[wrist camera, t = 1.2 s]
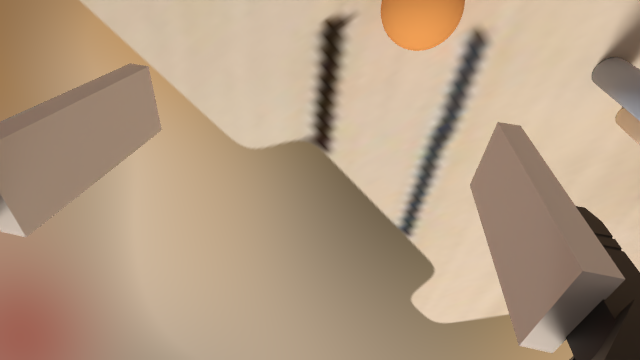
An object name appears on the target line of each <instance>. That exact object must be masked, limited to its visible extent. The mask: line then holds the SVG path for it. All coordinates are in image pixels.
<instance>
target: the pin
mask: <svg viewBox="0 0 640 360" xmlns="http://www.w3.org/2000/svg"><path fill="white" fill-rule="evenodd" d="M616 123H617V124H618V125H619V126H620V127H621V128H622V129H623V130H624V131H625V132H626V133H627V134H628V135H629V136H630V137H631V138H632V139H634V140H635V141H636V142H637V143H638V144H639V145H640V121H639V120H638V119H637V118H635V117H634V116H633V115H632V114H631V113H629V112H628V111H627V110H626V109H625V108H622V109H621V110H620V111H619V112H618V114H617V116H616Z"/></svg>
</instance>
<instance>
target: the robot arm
mask: <svg viewBox="0 0 640 360" xmlns="http://www.w3.org/2000/svg"><path fill="white" fill-rule="evenodd" d="M160 131H161V125H160V120H159V115H158V111H157V106H156V101H155V96H154V91H153V86H152V81H151V76H150V72H149V67H148V66H142V65H136V64H128V65H126V66H124V67H122V68H119V69H117V70H115V71H112V72H110V73H108V74H106V75H104V76H101V77H99V78H97V79H95V80H92V81H90V82H88V83H86V84H83V85H81V86H79V87H77V88H74V89H72V90H70V91H68V92H66V93H63V94H61V95H59V96H57V97H54V98H52V99H50V100H48V101H45V102H43V103H41V104H39V105H37V106H34V107H32V108H30V109H28V110H25V111H23V112H21V113H19V114H16V115H15V116H12V117H10V118H7V119H5V120H3V121H1V122H0V230H1V231H2V232H5V233H9V234H14V235H19V236H23V237H27V236H28V235H30V234H31V233H32V232H33V231H35V230H36V229H37V228H38V227H40V226H41V225H42V224H44V223H45V222H46V221H47V220H48V219H50V218H51V217H52V216H54V215H55V214H56V213H57V212H59V211H60V210H61V209H62V208H64V207H65V206H66V205H67V204H69V203H70V202H71V201H73V200H74V199H75V198H76V197H78V196H79V195H80V194H81V193H83V192H84V191H85V190H86V189H88V188H89V187H90V186H92V185H93V184H94V183H95V182H97V181H98V180H99V179H100V178H102V177H103V176H104V175H105V174H107V173H108V172H109V171H111V170H112V169H113V168H114V167H116V166H117V165H118V164H119V163H121V162H122V161H123V160H124V159H126V158H127V157H128V156H130V155H131V154H132V153H133V152H135V151H136V150H137V149H138V148H140V147H141V146H142V145H143V144H145V143H146V142H147V141H148V140H150V139H151V138H152V137H154V136H155V135H156V134H157V133H159V132H160ZM470 187H471V190H472V193H473V197H474V200H475V203H476V206H477V210H478V213H479V216H480V220H481V223H482V226H483V229H484V233H485V236H486V239H487V242H488V246H489V249H490V252H491V255H492V259H493V262H494V265H495V269H496V272H497V275H498V278H499V282H500V285H501V288H502V291H503V295H504V298H505V301H506V304H507V308H508V311H509V314H510V318H511V321H512V324H513V327H514V331H515V334H516V337H517V340H518V343H519V346H523V347H528V348H532V349H537V350H541V351H546V352H550V353H553V352H554V351H555V350H556V349H557V348H558V347H559V346H560V345H561V344H562V343H563V342H564V341H565V340H566V339H567V341H568V344H569V346H570V348H571V350H572V353H573V355H574V356H573V357H572V358H571V359H570V360H640V272H639V271H638V270H637V268H636V267H635V266H634V264H633V263H632V262H631V260H630V259H629V258H628V256H627V255H626V253H625V252H623V251H621V249H622V248H621V247H620V245H619V244H618V243H617V241H616V240H615V239H612V237H613V236H612V235H611V233H610V232H609V231H608V229H607V228H606V227H605V225H604V224H603V222H602V221H600V220H599V219H598V218H597V217H596V216H594V215H593V214H592V213H591V212H589V211H588V210H587V209H586V208H583V207H578V206H575V205H574V203H573V202H572V200H571V199H570V197H569V196H568V194H567V193H566V192H565V190H564V189H563V187H562V186H561V184H560V183H559V181H558V180H557V178H556V177H555V175H554V174H553V173H552V171H551V170H550V168H549V167H548V165H547V164H546V162H545V161H544V159H543V158H542V156H541V155H540V154H539V152H538V151H537V149H536V148H535V146H534V145H533V143H532V142H531V140H530V139H529V137H528V136H527V135H526V133H525V132H524V130H523V129H522V127H521V126H518V125H512V124H506V123H500V122H498V123H497V125H496V127H495V130H494V132H493V134H492V136H491V139H490V141H489V143H488V145H487V148H486V150H485V152H484V154H483V157H482V159H481V161H480V164H479V166H478V168H477V170H476V173H475V175H474V177H473V179H472V182H471V184H470Z"/></svg>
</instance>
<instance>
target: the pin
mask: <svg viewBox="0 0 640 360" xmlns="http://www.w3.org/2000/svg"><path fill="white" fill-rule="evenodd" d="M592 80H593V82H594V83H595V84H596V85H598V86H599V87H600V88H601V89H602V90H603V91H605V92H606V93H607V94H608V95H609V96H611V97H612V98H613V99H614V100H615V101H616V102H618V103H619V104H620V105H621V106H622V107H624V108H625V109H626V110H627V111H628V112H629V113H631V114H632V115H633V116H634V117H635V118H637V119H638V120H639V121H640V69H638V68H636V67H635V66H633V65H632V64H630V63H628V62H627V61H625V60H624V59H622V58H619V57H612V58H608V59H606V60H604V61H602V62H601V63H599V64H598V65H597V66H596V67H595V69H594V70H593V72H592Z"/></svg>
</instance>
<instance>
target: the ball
mask: <svg viewBox="0 0 640 360" xmlns="http://www.w3.org/2000/svg"><path fill="white" fill-rule="evenodd" d="M464 3H465V0H382V4H381V19H382V23H383V27H384V29H385V31H386V33H387V35H388V36H389V37H390V38H391V40H392V41H393V42H395V43H396V44H397V45H399V46H400V47H403V48H405V49H408V50H414V51H420V50H426V49H430V48H433V47H435V46H437V45H439V44H440V43H442V42H443V41H445V40H446V39H447V38H448V37H449V36H450V35H451V34H452V33H453V31H454V30H455V29H456V27H457V25H458V24H459V22H460V19H461V17H462V14H463V10H464Z"/></svg>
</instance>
